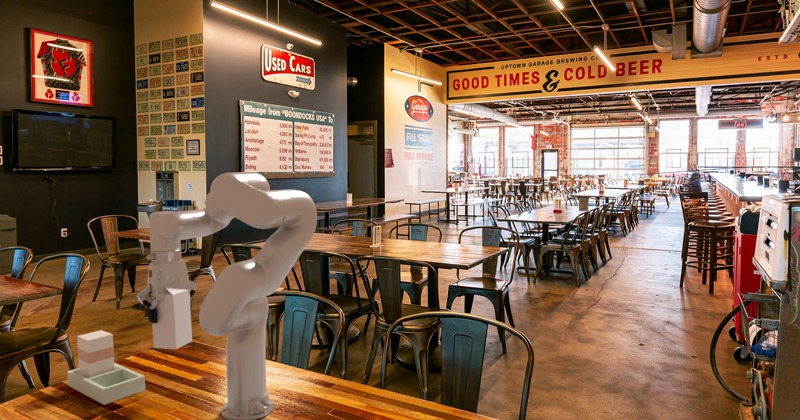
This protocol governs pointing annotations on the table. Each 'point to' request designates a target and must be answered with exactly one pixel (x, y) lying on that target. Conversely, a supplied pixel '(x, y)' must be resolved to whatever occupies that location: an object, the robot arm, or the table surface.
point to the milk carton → (173, 320)
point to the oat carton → (95, 353)
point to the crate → (108, 384)
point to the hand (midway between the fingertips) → (169, 318)
